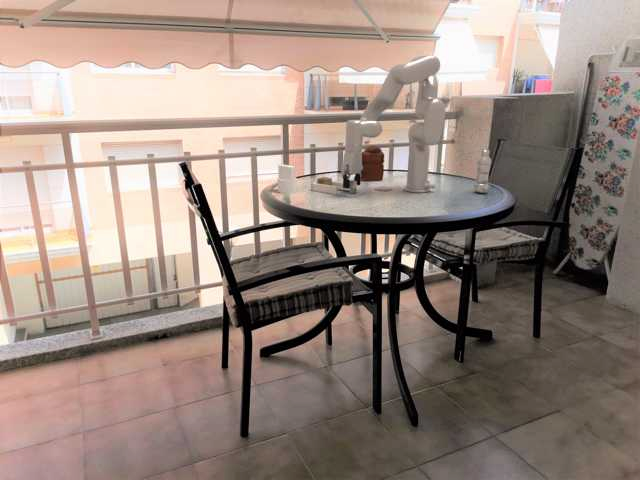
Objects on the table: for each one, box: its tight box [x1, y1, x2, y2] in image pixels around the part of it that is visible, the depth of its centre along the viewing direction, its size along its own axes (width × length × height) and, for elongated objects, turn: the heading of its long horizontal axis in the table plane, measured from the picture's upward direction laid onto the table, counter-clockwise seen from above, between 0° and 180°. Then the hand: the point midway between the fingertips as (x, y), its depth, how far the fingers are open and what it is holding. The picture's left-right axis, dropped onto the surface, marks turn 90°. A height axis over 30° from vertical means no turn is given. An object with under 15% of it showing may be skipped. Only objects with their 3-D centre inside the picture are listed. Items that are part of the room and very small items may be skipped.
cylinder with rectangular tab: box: [277, 164, 298, 195], centre depth 221 cm, size 9×9×12 cm
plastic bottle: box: [473, 149, 492, 194], centre depth 219 cm, size 6×7×20 cm
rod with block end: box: [316, 176, 358, 194], centre depth 221 cm, size 20×5×6 cm, turn 55°
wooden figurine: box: [361, 145, 385, 182], centre depth 246 cm, size 12×6×18 cm, turn 101°
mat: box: [335, 189, 366, 198], centre depth 218 cm, size 8×12×1 cm
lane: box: [310, 180, 348, 195], centre depth 224 cm, size 14×10×4 cm
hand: (351, 186), depth 216 cm, fingers open, 9 cm apart
